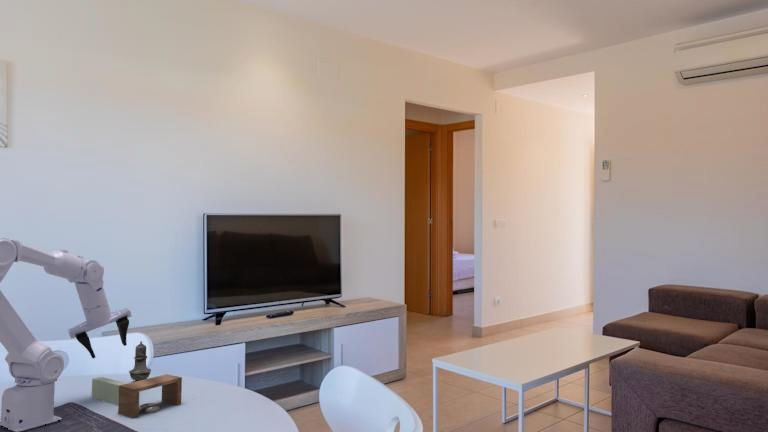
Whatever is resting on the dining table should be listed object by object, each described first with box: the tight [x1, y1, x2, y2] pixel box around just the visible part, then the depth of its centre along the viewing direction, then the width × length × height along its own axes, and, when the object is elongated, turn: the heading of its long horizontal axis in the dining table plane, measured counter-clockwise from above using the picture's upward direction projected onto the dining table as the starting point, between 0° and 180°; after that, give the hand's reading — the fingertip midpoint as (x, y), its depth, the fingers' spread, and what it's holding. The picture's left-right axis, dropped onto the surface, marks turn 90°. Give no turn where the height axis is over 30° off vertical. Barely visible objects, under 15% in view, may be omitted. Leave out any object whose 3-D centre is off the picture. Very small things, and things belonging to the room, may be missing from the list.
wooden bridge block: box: [117, 373, 183, 419], centre depth 130 cm, size 13×6×7 cm, turn 149°
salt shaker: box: [128, 340, 152, 383], centre depth 153 cm, size 6×6×12 cm
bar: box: [91, 376, 129, 406], centre depth 136 cm, size 2×16×5 cm, turn 59°
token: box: [139, 402, 161, 415], centre depth 129 cm, size 4×4×2 cm
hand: (109, 350), depth 140 cm, fingers open, 7 cm apart
